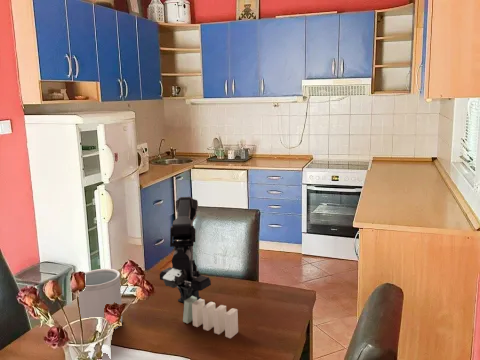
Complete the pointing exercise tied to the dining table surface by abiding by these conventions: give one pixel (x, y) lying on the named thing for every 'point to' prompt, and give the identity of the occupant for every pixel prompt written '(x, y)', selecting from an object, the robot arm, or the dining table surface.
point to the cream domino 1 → (198, 312)
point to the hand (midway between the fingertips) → (185, 301)
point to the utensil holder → (99, 292)
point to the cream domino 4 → (231, 323)
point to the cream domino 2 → (208, 316)
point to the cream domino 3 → (219, 319)
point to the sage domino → (188, 309)
